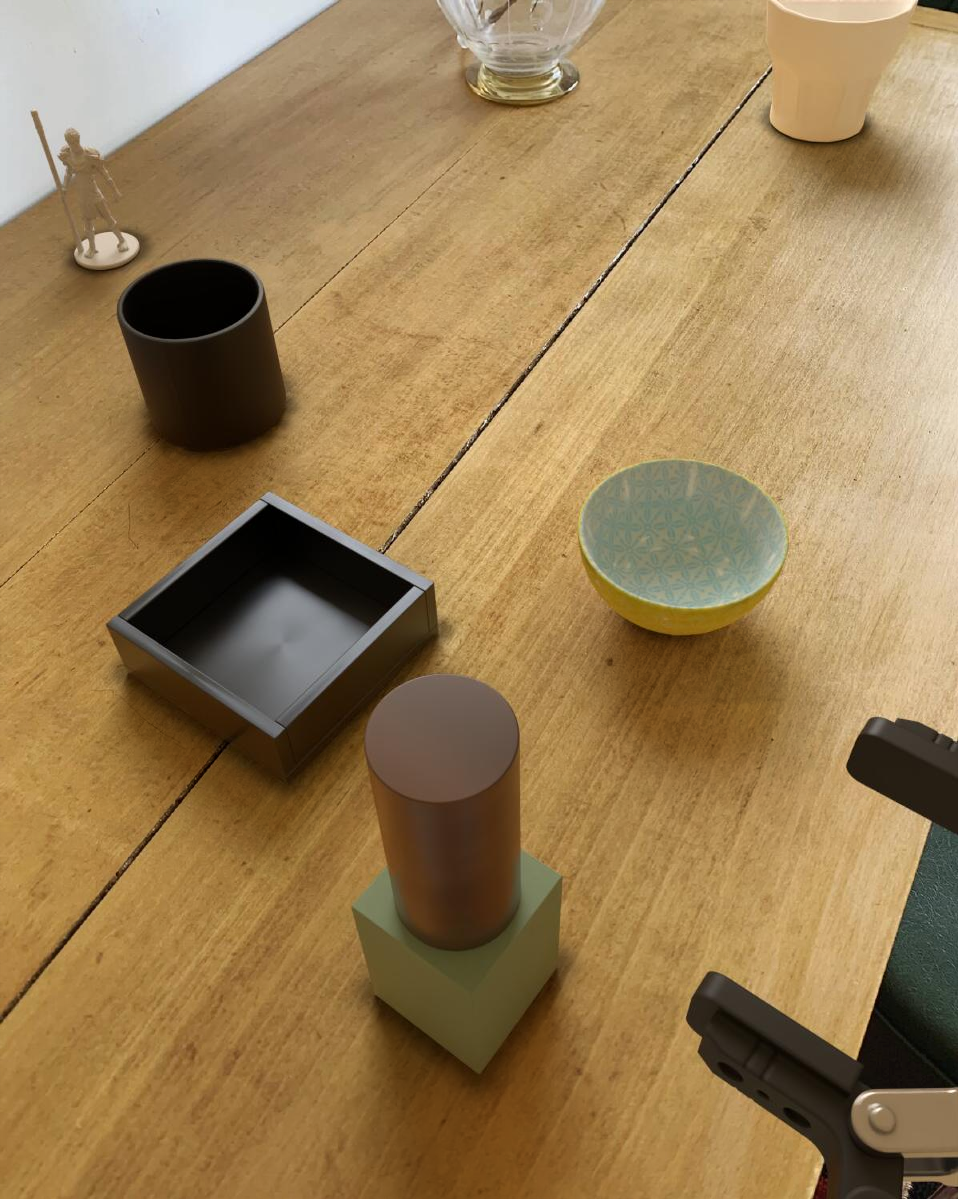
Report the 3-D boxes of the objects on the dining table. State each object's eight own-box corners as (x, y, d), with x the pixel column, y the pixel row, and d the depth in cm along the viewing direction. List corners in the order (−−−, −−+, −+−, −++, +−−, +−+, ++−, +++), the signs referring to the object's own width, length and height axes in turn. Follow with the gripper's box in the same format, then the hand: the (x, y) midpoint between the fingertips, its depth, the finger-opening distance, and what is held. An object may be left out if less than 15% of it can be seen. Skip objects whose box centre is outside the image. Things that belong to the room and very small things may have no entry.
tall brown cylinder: (469, 977, 41) (455, 833, 33) (368, 903, 44) (330, 750, 35) (545, 878, 44) (550, 720, 36) (446, 812, 46) (429, 649, 38)
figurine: (68, 270, 90) (16, 125, 81) (82, 235, 93) (34, 92, 84) (132, 268, 90) (88, 123, 80) (145, 233, 93) (103, 90, 84)
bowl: (812, 609, 64) (835, 534, 59) (672, 715, 60) (684, 644, 55) (671, 504, 70) (681, 429, 65) (533, 594, 66) (534, 520, 61)
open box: (288, 785, 58) (274, 739, 54) (126, 672, 63) (105, 624, 60) (439, 631, 64) (434, 582, 61) (280, 540, 69) (268, 490, 66)
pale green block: (479, 1075, 48) (471, 996, 41) (374, 994, 50) (350, 906, 43) (558, 966, 51) (563, 875, 44) (455, 894, 53) (444, 797, 47)
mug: (184, 342, 83) (153, 233, 76) (314, 390, 79) (293, 279, 72) (96, 415, 78) (54, 304, 71) (230, 470, 73) (199, 359, 67)
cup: (737, 144, 100) (757, 15, 91) (756, 82, 107) (776, -42, 99) (881, 161, 97) (915, 29, 88) (890, 96, 105) (922, -31, 96)
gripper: (1738, 943, 22) (934, 585, 28) (1704, 1787, 15) (641, 1041, 21) (1488, 1069, 27) (868, 746, 34) (1375, 1721, 20) (619, 1149, 27)
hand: (782, 860), depth 28 cm, fingers open, 8 cm apart
